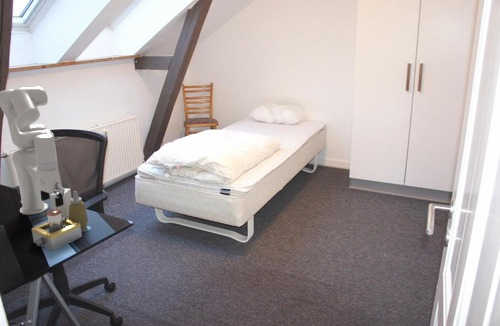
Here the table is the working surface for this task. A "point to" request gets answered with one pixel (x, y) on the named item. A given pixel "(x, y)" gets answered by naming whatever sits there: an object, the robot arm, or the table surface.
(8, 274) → the table surface
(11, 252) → the table surface
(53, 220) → the spout can
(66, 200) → the skincare box
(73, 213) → the squeeze bottle
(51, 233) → the box
